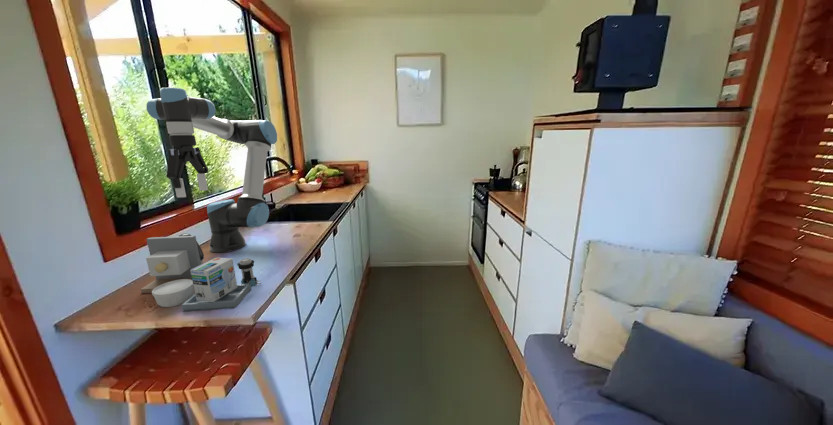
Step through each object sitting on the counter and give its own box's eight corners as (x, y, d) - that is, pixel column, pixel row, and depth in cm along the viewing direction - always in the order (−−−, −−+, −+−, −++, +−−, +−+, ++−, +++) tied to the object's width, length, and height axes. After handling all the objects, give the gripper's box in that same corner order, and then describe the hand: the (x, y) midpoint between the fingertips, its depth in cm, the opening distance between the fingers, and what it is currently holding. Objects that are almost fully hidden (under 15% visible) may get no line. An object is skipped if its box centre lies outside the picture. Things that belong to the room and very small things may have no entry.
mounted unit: (161, 280, 119) (151, 237, 115) (205, 277, 121) (196, 235, 116) (140, 293, 109) (128, 246, 105) (188, 290, 111) (178, 244, 106)
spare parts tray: (205, 292, 109) (203, 286, 108) (251, 290, 110) (250, 283, 110) (183, 311, 97) (181, 304, 97) (235, 308, 99) (233, 301, 98)
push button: (263, 281, 117) (259, 256, 114) (258, 288, 111) (254, 262, 109) (244, 282, 116) (240, 257, 113) (238, 289, 111) (234, 263, 108)
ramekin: (170, 293, 110) (167, 279, 108) (203, 291, 110) (200, 277, 109) (146, 310, 99) (142, 295, 97) (183, 308, 99) (179, 293, 98)
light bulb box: (213, 303, 98) (207, 271, 95) (195, 301, 99) (188, 269, 96) (238, 286, 108) (233, 257, 105) (222, 285, 109) (216, 256, 106)
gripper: (192, 134, 122) (202, 188, 127) (143, 135, 98) (158, 200, 103) (212, 134, 122) (221, 187, 128) (168, 134, 98) (182, 200, 104)
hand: (193, 193), depth 115 cm, fingers open, 13 cm apart
